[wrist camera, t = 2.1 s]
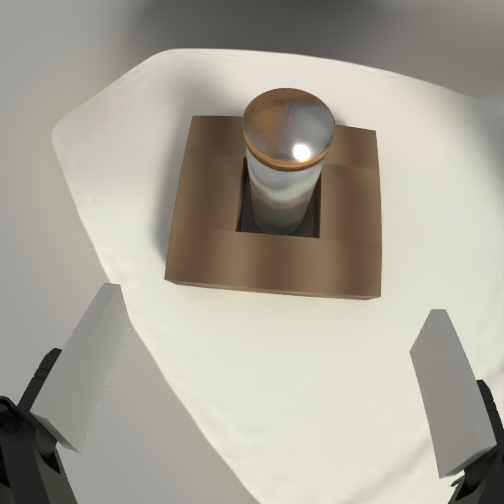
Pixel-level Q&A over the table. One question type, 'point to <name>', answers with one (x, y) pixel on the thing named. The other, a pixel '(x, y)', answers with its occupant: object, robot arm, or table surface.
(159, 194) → the table surface
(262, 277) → the pocket block
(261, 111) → the steel peg
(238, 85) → the table surface
